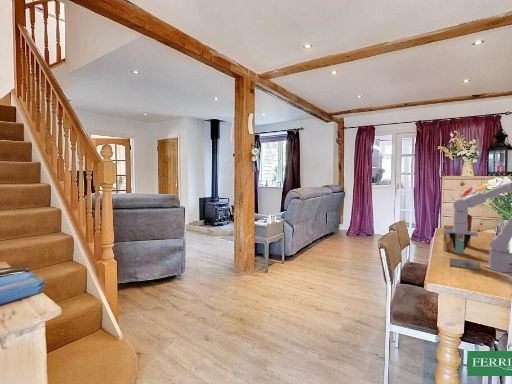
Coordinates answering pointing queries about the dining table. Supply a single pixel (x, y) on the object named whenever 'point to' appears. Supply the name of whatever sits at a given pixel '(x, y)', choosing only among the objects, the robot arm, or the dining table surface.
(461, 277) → the dining table surface
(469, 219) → the liquor
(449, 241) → the candy box
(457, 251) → the teal block
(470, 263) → the slate board
